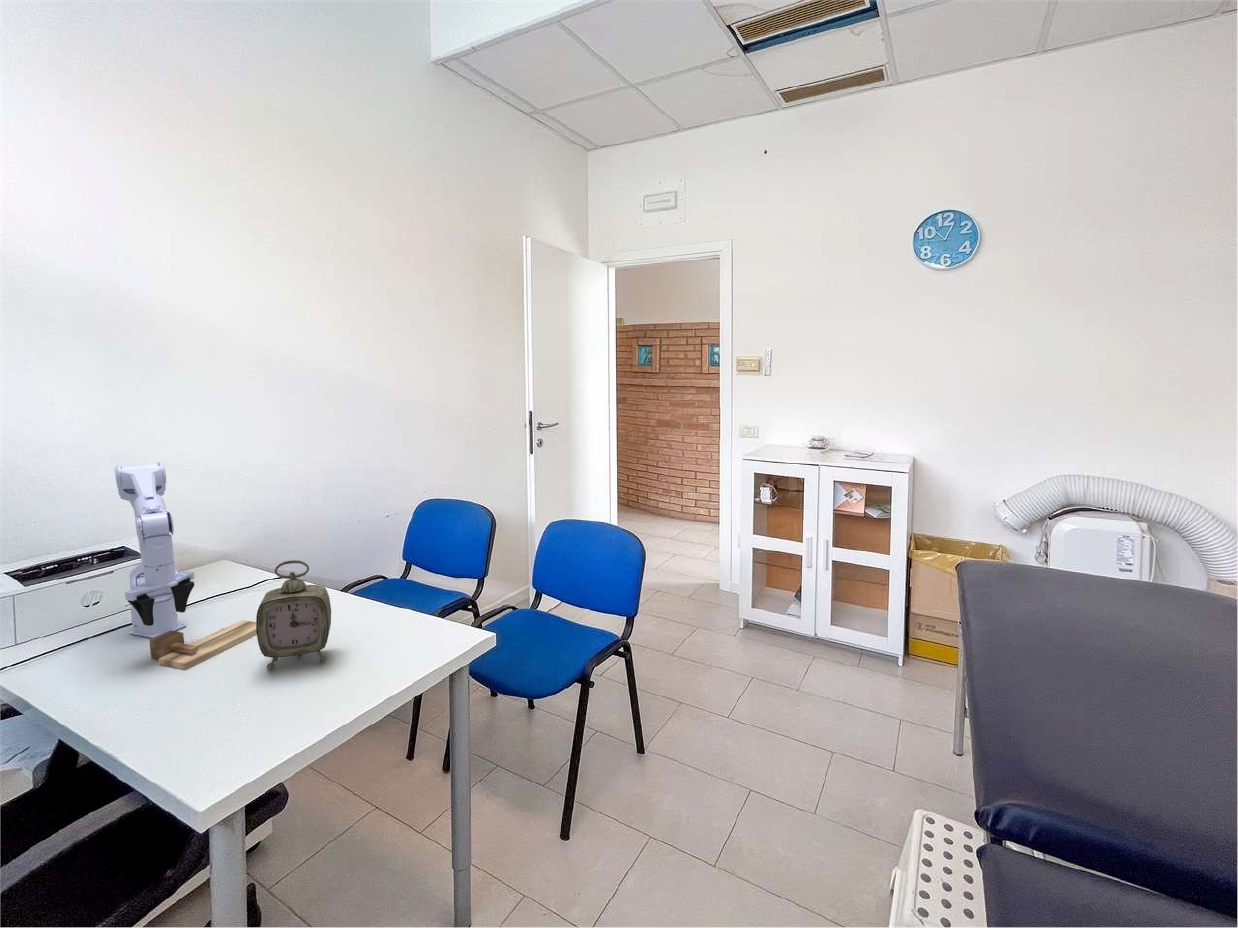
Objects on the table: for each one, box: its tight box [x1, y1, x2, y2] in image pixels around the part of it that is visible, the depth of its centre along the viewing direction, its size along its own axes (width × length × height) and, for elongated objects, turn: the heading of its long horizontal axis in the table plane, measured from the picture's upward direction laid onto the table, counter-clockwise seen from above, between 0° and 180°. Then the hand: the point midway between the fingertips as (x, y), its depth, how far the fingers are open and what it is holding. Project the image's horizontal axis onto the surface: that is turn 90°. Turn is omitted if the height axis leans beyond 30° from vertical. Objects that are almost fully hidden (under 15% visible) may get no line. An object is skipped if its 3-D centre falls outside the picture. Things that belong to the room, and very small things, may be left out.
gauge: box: [148, 630, 198, 661], centre depth 137 cm, size 10×5×5 cm, turn 75°
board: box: [158, 619, 257, 671], centre depth 144 cm, size 8×22×2 cm, turn 165°
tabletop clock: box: [255, 559, 332, 671], centre depth 135 cm, size 14×9×25 cm, turn 112°
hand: (165, 617), depth 137 cm, fingers open, 7 cm apart
